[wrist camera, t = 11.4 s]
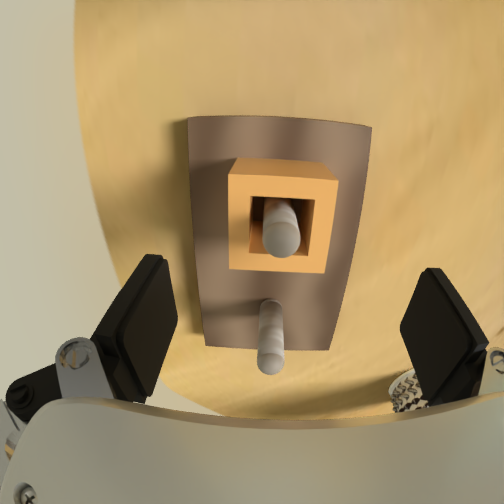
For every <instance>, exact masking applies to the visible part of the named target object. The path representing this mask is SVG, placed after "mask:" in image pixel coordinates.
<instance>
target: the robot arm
mask: <svg viewBox="0 0 504 504" xmlns="http://www.w3.org/2000/svg"><path fill="white" fill-rule="evenodd" d="M177 321H178V315H177V310H176V305H175V300H174V295H173V289H172V284H171V278H170V272H169V266H168V261H167V260H166V259H163V257H162V255H154V254H146V255H145V256H144V257H143V259H142V260H141V261H140V263H139V264H138V266H137V267H136V269H135V270H134V272H133V273H132V275H131V276H130V278H129V279H128V281H127V282H126V284H125V285H124V287H123V288H122V289H121V290H120V291H119V293H118V295H117V296H116V298H115V299H114V301H113V302H112V304H111V306H110V307H109V309H108V310H107V312H106V313H105V315H104V317H103V318H102V320H101V322H100V324H99V325H98V326H97V328H96V330H95V332H94V333H93V335H92V337H91V338H90V339H87V338H83V337H77V338H73V339H70V340H68V341H66V342H65V343H64V344H62V345H61V347H60V348H59V349H58V351H57V354H56V356H55V363H54V364H52V365H50V366H47V367H45V368H43V369H40V370H38V371H36V372H33V373H31V374H29V375H26V376H24V377H22V378H19V379H17V380H16V381H14V382H13V383H12V384H11V385H10V386H9V388H8V390H7V393H6V401H3V400H2V399H1V400H0V504H504V349H502V348H499V347H493V348H490V349H489V350H488V351H486V349H485V348H486V347H487V345H488V344H489V341H488V340H487V338H486V336H485V334H484V333H483V331H482V329H481V328H480V326H479V324H478V323H477V321H476V319H475V318H474V316H473V315H472V313H471V311H470V310H469V308H468V307H467V305H466V304H465V302H464V301H463V299H462V298H461V296H460V295H459V293H458V292H457V290H456V289H455V288H454V286H453V285H452V283H451V282H450V280H449V279H448V278H447V276H446V275H445V273H444V272H443V271H442V270H441V269H440V268H426V269H425V271H424V272H422V273H421V275H420V278H419V280H418V283H417V285H416V288H415V291H414V293H413V296H412V298H411V300H410V303H409V305H408V308H407V310H406V312H405V315H404V317H403V319H402V321H401V324H400V333H401V335H402V338H403V340H404V343H405V346H406V348H407V351H408V354H409V356H410V359H411V362H412V365H413V367H414V370H415V373H416V376H417V379H418V382H419V385H420V388H421V391H422V394H423V397H424V399H425V400H427V402H428V405H429V407H427V408H422V409H417V410H411V411H405V412H399V413H392V414H384V415H376V416H367V417H357V418H344V419H326V420H266V419H247V418H234V417H224V416H214V415H205V414H198V413H191V412H184V411H177V410H171V409H165V408H159V407H154V406H148V405H144V404H145V401H146V398H147V396H149V397H150V396H151V395H152V394H153V391H154V388H155V385H156V382H157V379H158V376H159V373H160V370H161V367H162V364H163V362H164V359H165V356H166V353H167V350H168V348H169V345H170V342H171V339H172V336H173V334H174V331H175V328H176V326H177ZM133 402H138V403H133ZM139 403H143V404H139ZM442 403H443V404H442ZM441 404H442V405H441Z"/></svg>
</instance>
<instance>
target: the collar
mask: <svg viewBox="0 0 504 504" xmlns="http://www.w3.org/2000/svg"><path fill="white" fill-rule="evenodd" d="M338 182H339V181H338V179H337V178H336V177H335V176H334V175H333V174H332V173H331V171H330V170H329V169H328V168H327V167H326V166H325V165H324V164H323V163H322V162H310V161H297V160H282V159H263V158H237V160H236V161H235V163H234V165H233V167H232V168H231V170H230V172H229V174H228V230H229V269H238V270H258V271H278V272H301V273H324V272H325V267H326V261H327V256H328V250H329V244H330V238H331V232H332V225H333V219H334V212H335V205H336V197H337V190H338ZM254 196H263V197H283V198H299V199H303V201H302V212H301V221H300V223H298V228H299V232H300V245H299V247H298V249H297V251H296V252H295V253H294V254H293V255H291V256H289V257H286V258H277V257H274V256H272V255H270V254H269V253H268V252H267V251H266V249H265V247H264V245H263V239H262V238H263V221H253V201H254Z"/></svg>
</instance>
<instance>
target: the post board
mask: <svg viewBox="0 0 504 504" xmlns="http://www.w3.org/2000/svg"><path fill="white" fill-rule="evenodd" d="M371 134H372V127H368V126H365V125H359V124H352V123H344V122H336V121H328V120H318V119H307V118H294V117H277V116H197V117H190V118H188V150H189V174H190V192H191V208H192V222H193V235H194V247H195V258H196V269H197V279H198V288H199V297H200V306H201V314H202V322H203V330H204V338H205V345H206V346H215V347H228V348H243V349H258V354H257V365H258V368H259V369H260V371H262V372H263V373H265V374H267V375H274V374H277V373H278V372H280V371H281V369H282V368H283V366H284V350H329V348H330V344H331V341H332V338H333V334H334V331H335V327H336V323H337V320H338V316H339V312H340V308H341V305H342V301H343V297H344V293H345V289H346V284H347V280H348V276H349V271H350V267H351V262H352V258H353V253H354V248H355V243H356V238H357V233H358V227H359V222H360V216H361V210H362V204H363V198H364V191H365V184H366V177H367V170H368V162H369V153H370V144H371ZM237 158H263V159H282V160H297V161H310V162H322V163H323V164H324V165H325V166H326V167H327V168H328V169H329V170H330V171H331V173H332V174H333V175H334V176H335V177H336V178H337V179H338V181H339V182H338V190H337V197H336V205H335V212H334V219H333V225H332V232H331V238H330V244H329V250H328V256H327V261H326V267H325V272H324V273H301V272H278V271H258V270H238V269H229V230H228V174H229V172H230V170H231V168H232V167H233V165H234V163H235V161H236V160H237ZM302 201H303V199H299V198H283V197H263V196H254V201H253V221H263V238H262V239H263V245H264V247H265V249H266V251H267V252H268V253H269V254H270V255H272V256H274V257H277V258H286V257H289V256H291V255H293V254H294V253H295V252H296V251H297V249H298V247H299V245H300V232H299V228H298V223H300V221H301V212H302Z"/></svg>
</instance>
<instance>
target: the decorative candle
mask: <svg viewBox="0 0 504 504" xmlns="http://www.w3.org/2000/svg"><path fill="white" fill-rule="evenodd" d="M388 392H389V394H390V396H391V398H392V399H391V402H392V403H393V406H394V407H393V411H395V413H399V412H405V411H411V410H417V409H422V408H427V407H429V405H428V402H427V400H425V399H424V397H423V394H422V391H421V388H420V385H419V382H418V379H417V376H416V373H415V370H414V368H412V369H410V370H409V371H407V372H405V373H403V374H402V375H400V376H399V377H398V378H396V379H395V380H394V381H393V383H392V384H391V385H390V387H389V391H388ZM442 404H443V403H442ZM442 404H441V405H442Z"/></svg>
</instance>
